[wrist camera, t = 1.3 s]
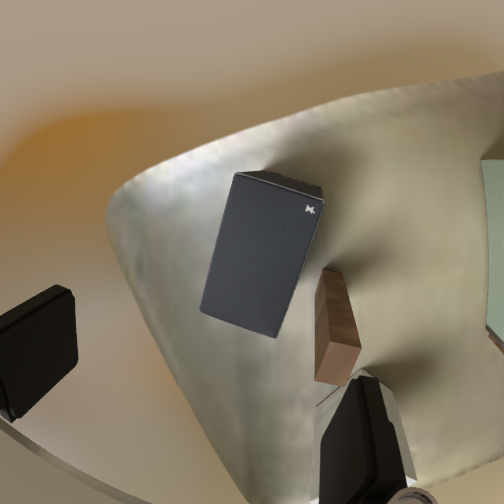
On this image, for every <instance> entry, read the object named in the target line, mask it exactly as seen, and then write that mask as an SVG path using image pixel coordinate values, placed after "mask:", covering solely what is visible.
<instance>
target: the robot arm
mask: <svg viewBox="0 0 504 504" xmlns="http://www.w3.org/2000/svg"><path fill="white" fill-rule="evenodd" d="M77 362H78V347H77V334H76V316H75V298H74V296H73V295H72V292H71V290H70V289H67V288H65V287H63V286H60V285H54V286H52V287H50V288H48V289H47V290H45V291H43V292H41V293H39V294H37V295H36V296H34V297H32V298H30V299H29V300H27V301H25V302H23V303H22V304H20V305H18V306H16V307H15V308H13V309H11V310H9V311H8V312H6V313H4V314H3V315H1V316H0V414H1V416H2V417H4V418H5V419H6V420H8V421H9V422H10V423H13V421H15V420H16V419H17V418H21V417H22V416H23V415H25V414H26V413H27V412H28V410H30V409H31V408H32V407H33V406H34V405H35V404H36V403H37V402H38V401H39V400H40V399H41V398H42V397H43V396H44V395H45V394H46V393H48V392H49V391H50V390H51V389H52V388H53V387H54V386H55V385H56V384H57V383H58V382H59V381H60V380H61V379H62V378H63V377H64V376H65V375H67V374H68V373H69V372H70V371H71V370H72V369H73V368H74V367H75V366H76V364H77ZM0 504H152V503H149V502H146V501H144V500H142V499H139V498H137V497H134V496H132V495H129V494H127V493H125V492H123V491H121V490H118V489H116V488H114V487H112V486H110V485H108V484H106V483H104V482H102V481H99V480H98V479H96V478H94V477H92V476H90V475H88V474H86V473H84V472H82V471H81V470H79V469H76V468H75V467H73V466H72V465H70V464H68V463H66V462H65V461H63V460H61V459H59V458H58V457H56V456H54V455H53V454H51V453H50V452H48V451H47V450H45V449H43V448H42V447H40V446H39V445H37V444H36V443H34V442H33V441H31V440H30V439H28V438H27V437H25V436H24V435H23V434H21V433H20V432H18V431H17V430H16V429H14V428H13V427H12V426H10V425H9V424H8V423H6V422H5V421H4V420H2V419H1V418H0ZM319 504H438V503H437V501H436V500H435V499H434V497H433V496H432V495H431V494H430V493H429V492H427V491H425V490H423V489H421V488H416V487H409V488H408V486H407V481H406V476H405V471H404V466H403V462H402V457H401V453H400V449H399V444H398V440H397V436H396V432H395V428H394V425H393V423H392V422H391V421H389V419H388V415H387V411H386V407H385V403H384V399H383V395H382V392H381V388H380V384H379V380H378V378H375V377H369V376H363V375H359V376H358V378H357V379H354V378H353V379H352V380H351V381H350V383H349V385H348V387H347V389H346V391H345V393H344V395H343V397H342V399H341V401H340V403H339V405H338V407H337V409H336V411H335V413H334V415H333V417H332V419H331V421H330V423H329V425H328V427H327V429H326V430H325V432H324V434H323V436H322V439H321V443H320V479H319Z"/></svg>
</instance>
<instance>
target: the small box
mask: <svg viewBox="0 0 504 504" xmlns="http://www.w3.org/2000/svg"><path fill="white" fill-rule="evenodd" d="M324 206H325V201H324V197H323V195H322V189H321V187H317V186H314V185H309V184H307V183H304V182H299V181H297V180H294V179H290V178H289V177H284V176H281V175H280V174H277V173H273V172H268V171H264V170H261V171H251V172H249V171H248V172H236V173H235V174H234V177H233V181H232V185H231V188H230V192H229V196H228V199H227V203H226V207H225V210H224V214H223V218H222V221H221V225H220V229H219V233H218V237H217V240H216V244H215V248H214V252H213V255H212V259H211V263H210V267H209V271H208V275H207V279H206V282H205V286H204V290H203V294H202V298H201V302H200V306H199V311H200V312H202V313H205V314H207V315H209V316H212V317H215V318H217V319H220V320H223V321H225V322H228V323H231V324H233V325H236V326H239V327H242V328H245V329H248V330H250V331H253V332H256V333H259V334H262V335H265V336H268V337H271V338H274V339H275V338H277V336H278V333H279V331H280V328H281V325H282V323H283V320H284V318H285V315H286V313H287V310H288V307H289V305H290V302H291V299H292V297H293V294H294V291H295V289H296V286H297V284H298V281H299V278H300V275H301V272H302V270H303V267H304V264H305V261H306V258H307V255H308V253H309V250H310V247H311V244H312V241H313V239H314V236H315V233H316V230H317V227H318V224H319V221H320V218H321V215H322V212H323V209H324Z"/></svg>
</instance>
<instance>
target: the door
mask: <svg viewBox="0 0 504 504" xmlns="http://www.w3.org/2000/svg"><path fill="white" fill-rule="evenodd" d="M481 166H482V173H483V181H484V189H485V198H486V209H487V223H488V245H489V283H488V305H487V319H486V324H487V325H486V330H487V331H488V332H489V333H490V334H491V335H492V336H493V338H494V339H495V340H496V341H497V342H498V343H499V344H500V346H501V347H502V348H503V349H504V159H486V160H481Z"/></svg>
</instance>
